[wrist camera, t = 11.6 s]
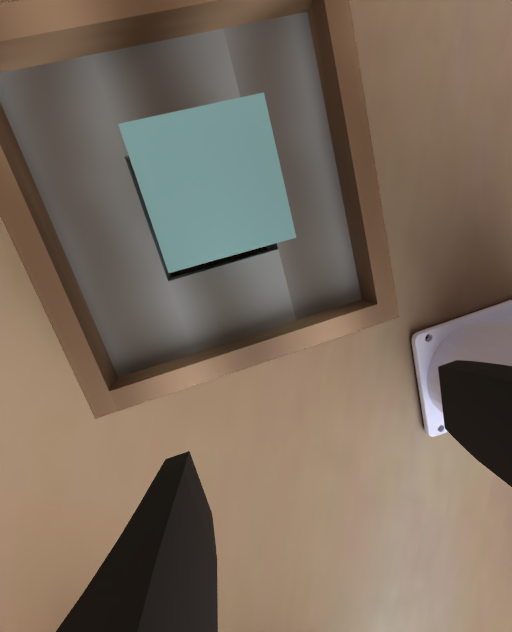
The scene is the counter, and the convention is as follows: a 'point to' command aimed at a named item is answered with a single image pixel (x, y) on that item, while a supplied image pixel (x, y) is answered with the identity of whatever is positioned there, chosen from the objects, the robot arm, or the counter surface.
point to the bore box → (128, 204)
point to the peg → (210, 180)
